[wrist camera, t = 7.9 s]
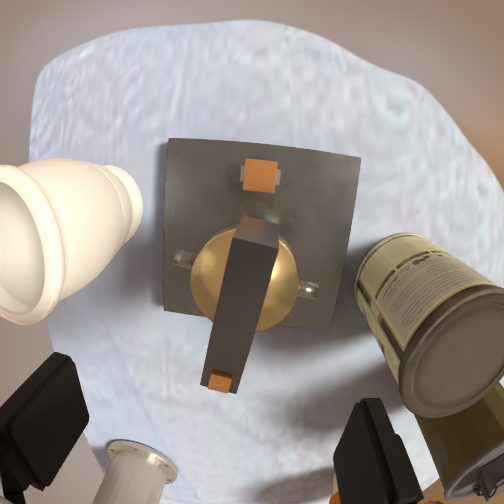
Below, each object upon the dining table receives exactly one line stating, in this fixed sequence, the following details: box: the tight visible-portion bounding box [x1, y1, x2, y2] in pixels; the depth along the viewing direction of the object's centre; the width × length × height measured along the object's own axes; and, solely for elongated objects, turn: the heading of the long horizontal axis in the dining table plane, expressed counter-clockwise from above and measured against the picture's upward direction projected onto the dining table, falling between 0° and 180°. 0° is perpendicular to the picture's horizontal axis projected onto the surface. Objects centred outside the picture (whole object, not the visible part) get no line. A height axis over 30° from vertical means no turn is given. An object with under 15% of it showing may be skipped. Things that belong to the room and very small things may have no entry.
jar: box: [0, 158, 143, 326], centre depth 21 cm, size 11×10×15 cm
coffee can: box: [354, 233, 504, 418], centre depth 22 cm, size 10×10×14 cm
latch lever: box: [174, 215, 319, 394], centre depth 16 cm, size 9×8×7 cm
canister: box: [414, 382, 504, 502], centre depth 22 cm, size 11×10×20 cm
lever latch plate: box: [163, 138, 361, 330], centre depth 24 cm, size 16×16×9 cm
